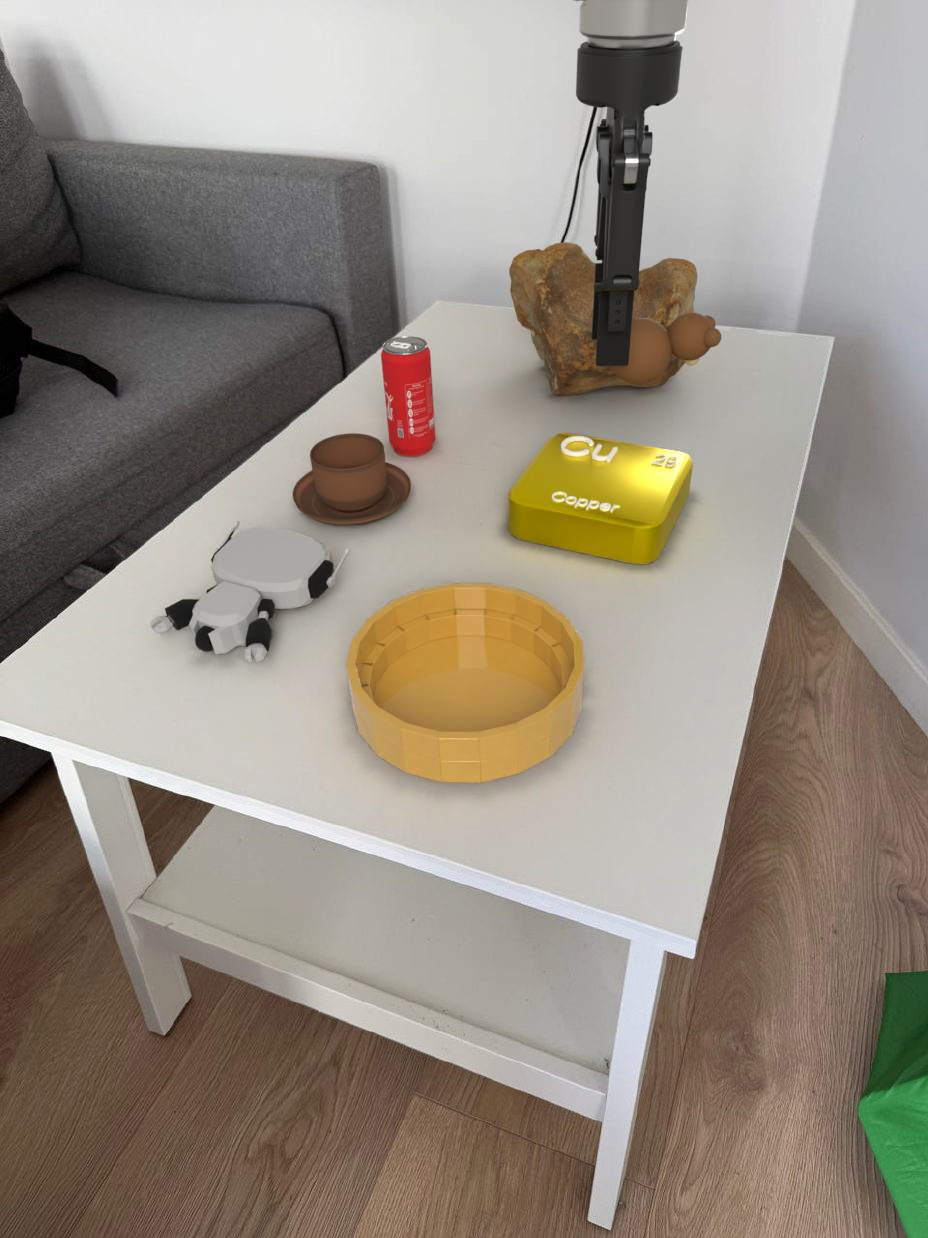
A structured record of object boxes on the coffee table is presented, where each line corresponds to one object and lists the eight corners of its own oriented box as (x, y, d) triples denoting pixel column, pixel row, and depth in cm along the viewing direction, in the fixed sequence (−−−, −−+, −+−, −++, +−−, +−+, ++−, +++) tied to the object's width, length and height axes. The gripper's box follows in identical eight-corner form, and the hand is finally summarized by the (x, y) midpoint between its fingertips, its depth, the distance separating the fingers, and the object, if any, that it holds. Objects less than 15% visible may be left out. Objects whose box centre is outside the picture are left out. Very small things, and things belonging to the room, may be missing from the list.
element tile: (501, 537, 88) (501, 494, 85) (554, 465, 99) (555, 424, 96) (654, 570, 83) (659, 526, 80) (692, 490, 94) (698, 448, 91)
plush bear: (612, 375, 85) (717, 345, 82) (618, 402, 80) (728, 371, 78) (598, 318, 81) (707, 285, 79) (603, 343, 77) (718, 309, 75)
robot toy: (270, 690, 74) (360, 577, 83) (257, 650, 71) (353, 538, 80) (150, 652, 78) (249, 549, 88) (133, 613, 75) (238, 510, 85)
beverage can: (422, 462, 100) (415, 357, 93) (381, 453, 102) (371, 350, 95) (443, 441, 104) (438, 338, 96) (403, 433, 106) (395, 332, 98)
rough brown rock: (484, 405, 112) (482, 287, 102) (515, 342, 124) (516, 230, 113) (675, 429, 107) (694, 307, 97) (689, 361, 119) (708, 245, 108)
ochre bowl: (575, 630, 77) (577, 582, 74) (586, 790, 63) (590, 740, 60) (370, 629, 78) (364, 582, 75) (338, 787, 64) (329, 737, 61)
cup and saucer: (289, 484, 98) (280, 432, 94) (399, 467, 100) (395, 415, 96) (302, 545, 88) (292, 490, 85) (423, 524, 90) (419, 469, 87)
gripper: (572, 24, 73) (562, 313, 87) (584, 59, 59) (570, 396, 74) (667, 21, 72) (641, 311, 87) (702, 55, 58) (665, 394, 73)
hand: (609, 349), depth 80 cm, fingers closed on plush bear, 5 cm apart
